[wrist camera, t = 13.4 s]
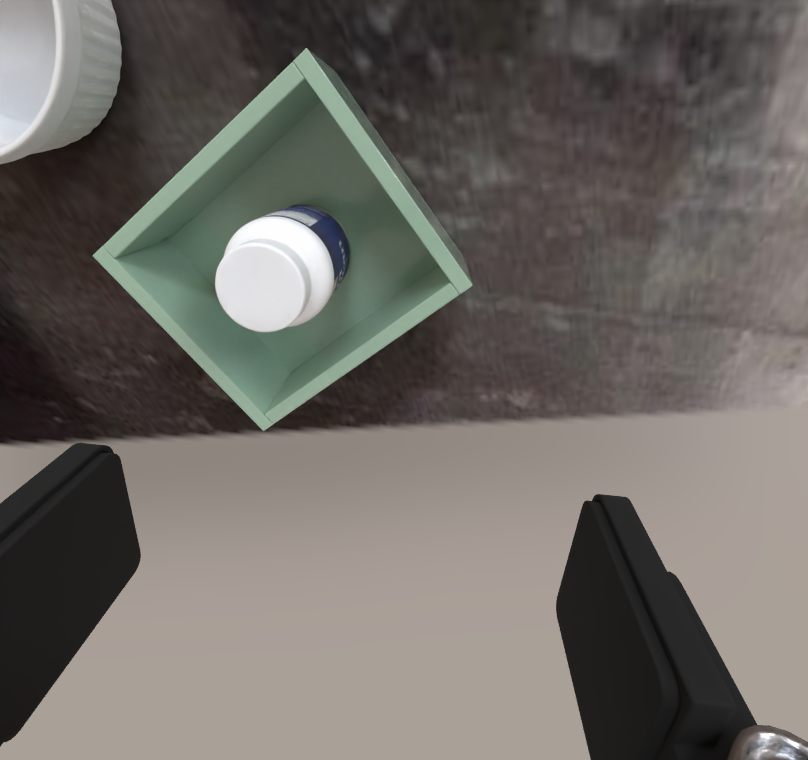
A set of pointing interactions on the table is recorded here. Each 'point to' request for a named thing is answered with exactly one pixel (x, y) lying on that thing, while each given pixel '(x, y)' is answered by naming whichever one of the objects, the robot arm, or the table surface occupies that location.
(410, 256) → the green open box
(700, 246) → the table surface
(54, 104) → the ramekin
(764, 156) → the table surface
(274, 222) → the pill bottle
